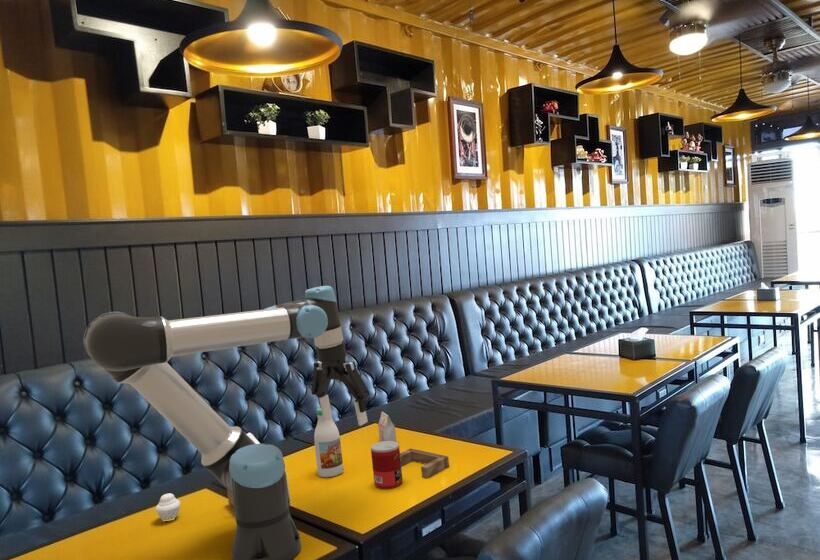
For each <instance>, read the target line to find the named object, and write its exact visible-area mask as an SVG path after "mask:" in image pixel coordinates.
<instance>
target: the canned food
mask: <svg viewBox="0 0 820 560" xmlns="http://www.w3.org/2000/svg"><path fill="white" fill-rule="evenodd" d="M400 453H401V450H400V444H399V442H398V441H396V442H394V441H382V442H380V441H378V442H375V443H373V444H372V445H371V446H370V454H371V465H372V472H373V473H372V475H373V480H374V484H375V485H374V486H375V487H376V488H378V489H382V490H383V489H384V490H385V489H386V490H388V489H395V488H396V487H400V486H401V485H402V483H403V472H402V466H401V459H400Z"/></svg>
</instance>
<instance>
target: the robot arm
mask: <svg viewBox="0 0 820 560" xmlns="http://www.w3.org/2000/svg"><path fill="white" fill-rule="evenodd" d="M337 301H338V300H337V297H336V293H335V291H334V288H333V287H332V286H330V285H321V286H315V287H312V288H308V289H306V290H305V292H304V298H301V299H299V300H293V301H289V302H288V301H287V302H285V303H280V304H274V305H272V306H269V307H265V308H264V309H257V310H249V311H240V312H239V311H238V312H233V313H232V312H231V313H223V314H214V315H213V314H211V315H207V316H205V315H204V316H197V317H188V318H178V319H170V320H169V319H166V318H164V317H163V316H153V317H139V316H131V315H130V314H128V313H126V312H122V311H121V312H120V311H109V312H106V313H102V314H101V315H99V316H98V317H96V318H94V319H93V320H92V321H91V322H90V323H88V325H87V328H86V329H85V331H84V333H83V342H82V343H83V347H84V350H85V352H86V354H87V355H88V356H89V358H90V359H91V360H92V361H93V362H94V363H95V365H96V366H98V367H99V368H102V370H104V371H105V372H106V373H107V374H108V375H109V376H110V377H112V379H113V380H114V381H116V383H117V384H129V385H130V386H131V387H132V388H133V389H134V390H135V391H137V392H138V393H139V394H140V395H141V397H143V398H144V399H145V401H146V402H147V403H149V404H150V405H151V406H152V407H153V409H155V410H156V412H158V413H159V414H160V415H161V416H162V417H163V418H164V419H165V420H166V421H167V422H168V423H169V424H170V425H171V426H172V427H173V428H175V430H176V431H178V433H179V434H180V435H181V436H183V437H184V438H185V439H186V440H187V441H188V443H190V444H191V445H192V446H193V447H194V448H195V449H196V450H197V451H198V452H199V453H200V454H201V462H200V463H201V465H202V466H203V467H204V468H205V469H206V470H207V471H208V472H209V473H211V474H212V475H213V476H214V477H215V478H216V480H218V482H219V483H221V484H222V486H224V487H225V489H226V490H227V491H228V492H229V494H230V495H232V498H233V505H234V506H233V507H234V513H235V514H234V516H235V521H236V523H235V524H236V528H235V532H234V537H233V543H232V547H231V560H291V559H292V560H293V559H295V556H296V555H297V556H298V555H299V553H300V551H301V549H302V543H301V542H302V541H301V534H300V533H299V531H298V529H297V527H296V524H295V522H294V520H293V518H292V516H291V513H290V507H289V497H288V488H287V479H286V478H287V476H286V463H285V460H284V456H283V453H282V451H281V450H280V449H279V448H278V447H277V446H275V445H273V444H270V443H269V444H265V443H256V442H254V440H253V439H252V438H250V437H249V435H248V434H247V433H246V432H245V431H244V430H243V429H242V428H241V427H240V426H230V425H229V424H227V422H226V421H225V420H224V419H222V417H221V416H220V415H219V414H218V412H216V411H215V410H214V409H213V408H212V406H210V404H208V402H206V401H205V399H203V397H201V395H200V394H198V393H197V391H196V390H195V389H194V388H193V387H192V386H191V385H190V384H189V383H188V382H187V381H186V380H185V379H184V378H183V377H182V376H181V375H180V374H179V373H178V372H177V371H176V370H175V369H174V368H173V367H172V366H171V365H170V364H169V363H168V362H169V360H170V359H171V358H172V357H178V356H184V355H185V356H186V355H192V354H198V353H204V352H210V351H211V352H212V351H219V350H226V349H231V348H237V347H245V346H253V345H258V344H259V345H260V344H266V343H271V342H277V341H284V340H294V339H301V338H305V339H313V341H314V346H316V349H315V350H316V355H317V360H318V361H316V362H314V363H313V375H312V376H313V377H312V383H311V390H310V391H311V395H313V396H314V395H315V396H316V398H317V399H318V405H319V407H320V408H321V411H322V415H323V420H324V421H326V420H328V419H330V418H332V419H333V411H332V412H331V408H332V407H331V402H330V397H329V394H328V392H327V391H328V389H329V386H330V384H331V381H332V380H336V381H337V380H338V381H339V382H340V383H343V385H344V387H346V389H347V390H348V391H349V393H350V394H351V395H352V396H353V398H354V399H355V400H353V403H354V408H355V414H356V418H357V423H358V426H360V427H361V426H363V425H365V424H367V423H368V422H369V421H368V416H367V415H368V414H367V404H366V399H367V398H369V397H370V396H371V392H370V390H369V389H368V386H367V385H366V383H365V381H364V379H363V378H362V376H361V374H360V373H359V371H358V368H357V366H356V362H355V361H354V360H353V361H351V362H346V356H347V349H346V344H345V343H344V342H343V341H344V335H343V331H342V330H343V329H342V326H341V325H342V324H341V321H340V315H339V310H338V309H339V308H338V302H337ZM297 556H296V557H297Z"/></svg>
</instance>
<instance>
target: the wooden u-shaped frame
mask: <svg viewBox="0 0 820 560" xmlns="http://www.w3.org/2000/svg"><path fill="white" fill-rule="evenodd" d="M400 459H401V467H404V466H405V465H407V464H409V463H411V462H414V461H416V462H415V463H418V462H421V463H420V464H423V463H426V464H423V465H422V466H420V471H421V477H422V478H423V477H424V478H425V479H429V478H432V477H433V476H434V474H435V475H436V474H438V473H441V472H442V471H443V470H445V469H447V468H449V467H450V459H449V456H448V455H443V454H439V453H434V452H430V451H429V452H428V451H424V450H420V449H415V448H409V449H408V448H407V449H406V450H404V451H402V452H400Z"/></svg>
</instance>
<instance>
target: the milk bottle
mask: <svg viewBox="0 0 820 560" xmlns="http://www.w3.org/2000/svg"><path fill="white" fill-rule="evenodd" d="M331 412H332V413H333V409H332V407H331ZM315 413H316V417H317V422H316V423H317V424H316V426H315V430H314V435H313V437H314V438H313V439H314V450H315V460H316V461H315V462H316V468H317V469H316V470H317V475H318V476H319V477H322V478H333V477H336V476H337V477H338V476H339V475H341V474H342V473H343V472H344V463H343V453H342V445H341V436H340V435H341V434H340V432H339V429H338V427H337V425H336V423H335V422H334V420H333V417H332V418H330V419H328V420H326V421H324V420H323V415H322V411H321V408H320V406H319V407H317V408H316V412H315Z"/></svg>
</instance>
